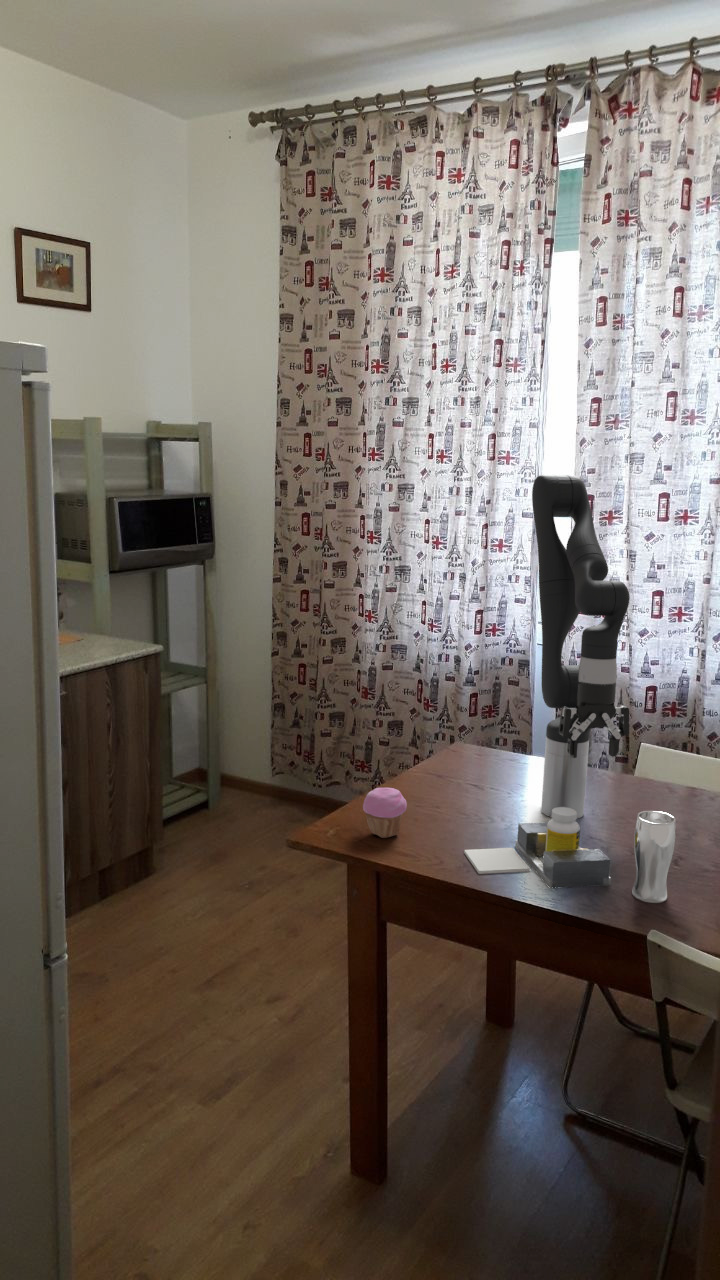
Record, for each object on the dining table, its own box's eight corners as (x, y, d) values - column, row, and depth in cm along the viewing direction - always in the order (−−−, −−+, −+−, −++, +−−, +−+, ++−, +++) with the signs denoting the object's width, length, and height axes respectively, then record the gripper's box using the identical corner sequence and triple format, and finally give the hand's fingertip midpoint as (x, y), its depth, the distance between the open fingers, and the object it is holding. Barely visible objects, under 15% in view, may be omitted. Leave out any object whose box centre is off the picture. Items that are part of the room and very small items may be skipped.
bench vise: (515, 847, 201) (516, 823, 200) (570, 844, 203) (572, 821, 202) (549, 888, 182) (551, 862, 181) (610, 884, 184) (612, 859, 183)
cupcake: (413, 835, 205) (415, 789, 203) (384, 846, 199) (385, 799, 197) (382, 823, 211) (384, 778, 209) (353, 833, 205) (354, 787, 203)
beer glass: (652, 907, 175) (660, 827, 173) (621, 893, 181) (628, 814, 178) (677, 898, 179) (685, 819, 177) (646, 884, 185) (652, 807, 182)
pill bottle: (581, 872, 190) (585, 817, 187) (549, 872, 189) (552, 817, 187) (571, 858, 196) (575, 805, 194) (540, 858, 195) (544, 805, 193)
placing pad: (464, 852, 197) (464, 849, 197) (512, 850, 199) (512, 847, 199) (479, 873, 187) (479, 870, 187) (529, 871, 189) (529, 868, 189)
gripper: (622, 674, 207) (617, 750, 209) (556, 675, 204) (552, 752, 207) (638, 682, 199) (633, 760, 202) (571, 683, 197) (566, 762, 199)
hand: (592, 756), depth 204 cm, fingers open, 8 cm apart
